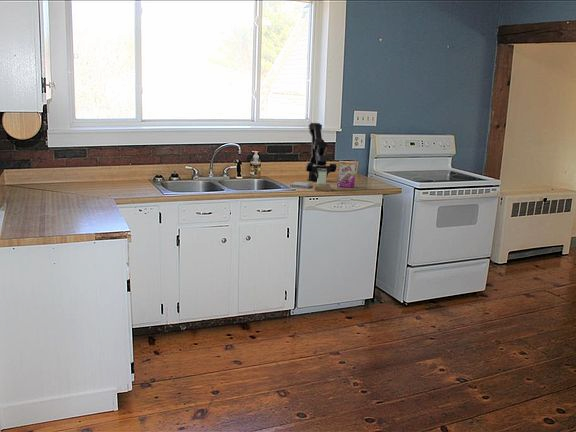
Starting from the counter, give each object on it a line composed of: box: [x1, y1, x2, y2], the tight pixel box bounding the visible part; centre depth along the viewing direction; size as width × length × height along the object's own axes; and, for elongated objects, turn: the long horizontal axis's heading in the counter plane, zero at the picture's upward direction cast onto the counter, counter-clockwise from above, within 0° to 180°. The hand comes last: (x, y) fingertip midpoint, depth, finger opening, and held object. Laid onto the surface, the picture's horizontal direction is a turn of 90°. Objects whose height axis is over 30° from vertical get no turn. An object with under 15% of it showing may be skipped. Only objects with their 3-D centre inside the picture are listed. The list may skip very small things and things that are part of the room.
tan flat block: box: [312, 183, 332, 192], centre depth 365 cm, size 8×10×3 cm
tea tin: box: [316, 169, 328, 185], centre depth 365 cm, size 4×5×9 cm
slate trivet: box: [289, 181, 315, 189], centre depth 374 cm, size 12×12×2 cm
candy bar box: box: [336, 160, 357, 189], centre depth 378 cm, size 11×5×16 cm, turn 84°
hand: (322, 178), depth 363 cm, fingers closed on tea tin, 5 cm apart
